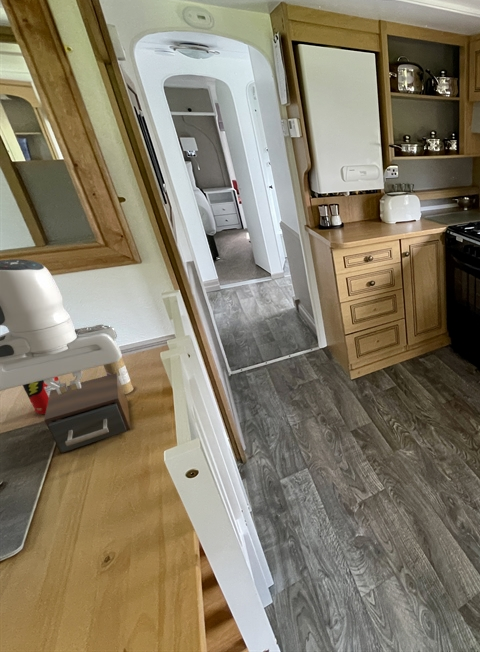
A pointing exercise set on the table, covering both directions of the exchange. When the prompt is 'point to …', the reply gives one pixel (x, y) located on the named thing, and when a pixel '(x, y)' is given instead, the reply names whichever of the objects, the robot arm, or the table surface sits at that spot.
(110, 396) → the cabinet
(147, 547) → the table surface
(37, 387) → the beverage can
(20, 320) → the robot arm
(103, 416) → the drawer
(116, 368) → the sprinkles bottle
